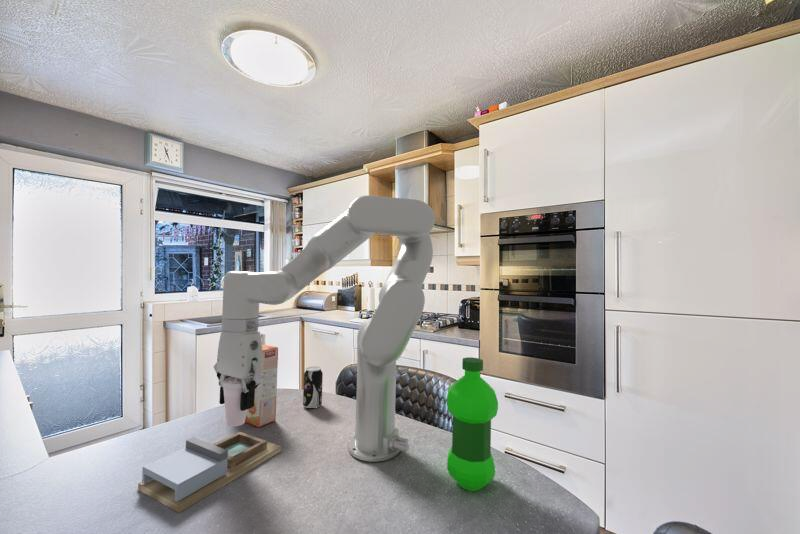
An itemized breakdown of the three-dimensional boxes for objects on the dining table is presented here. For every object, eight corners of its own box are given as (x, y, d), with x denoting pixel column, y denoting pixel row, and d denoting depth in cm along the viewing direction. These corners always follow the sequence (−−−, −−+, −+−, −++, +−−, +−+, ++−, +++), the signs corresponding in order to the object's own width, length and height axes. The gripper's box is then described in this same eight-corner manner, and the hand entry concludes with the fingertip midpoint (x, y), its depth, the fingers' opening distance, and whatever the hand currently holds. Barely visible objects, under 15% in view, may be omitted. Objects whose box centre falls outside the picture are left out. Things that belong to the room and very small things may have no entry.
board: (280, 451, 78) (281, 438, 78) (178, 512, 58) (179, 495, 58) (242, 437, 84) (243, 425, 84) (138, 489, 63) (138, 473, 63)
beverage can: (319, 410, 102) (320, 371, 102) (300, 410, 102) (301, 370, 102) (323, 403, 108) (324, 365, 108) (305, 402, 108) (307, 365, 108)
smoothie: (212, 427, 72) (215, 362, 73) (233, 415, 79) (235, 356, 79) (238, 431, 71) (241, 365, 71) (257, 418, 77) (259, 358, 78)
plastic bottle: (465, 505, 61) (468, 369, 62) (435, 474, 71) (438, 356, 71) (507, 491, 65) (509, 364, 66) (473, 463, 75) (475, 352, 76)
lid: (227, 473, 67) (227, 450, 67) (177, 501, 58) (178, 475, 58) (192, 458, 72) (193, 437, 72) (142, 482, 63) (143, 458, 63)
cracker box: (277, 420, 94) (279, 346, 95) (258, 428, 89) (260, 350, 90) (247, 409, 102) (249, 340, 102) (228, 415, 96) (230, 343, 97)
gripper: (280, 327, 75) (277, 407, 74) (229, 320, 83) (226, 393, 82) (252, 331, 68) (248, 420, 68) (200, 323, 76) (196, 403, 75)
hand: (236, 404), depth 75 cm, fingers closed on smoothie, 6 cm apart
